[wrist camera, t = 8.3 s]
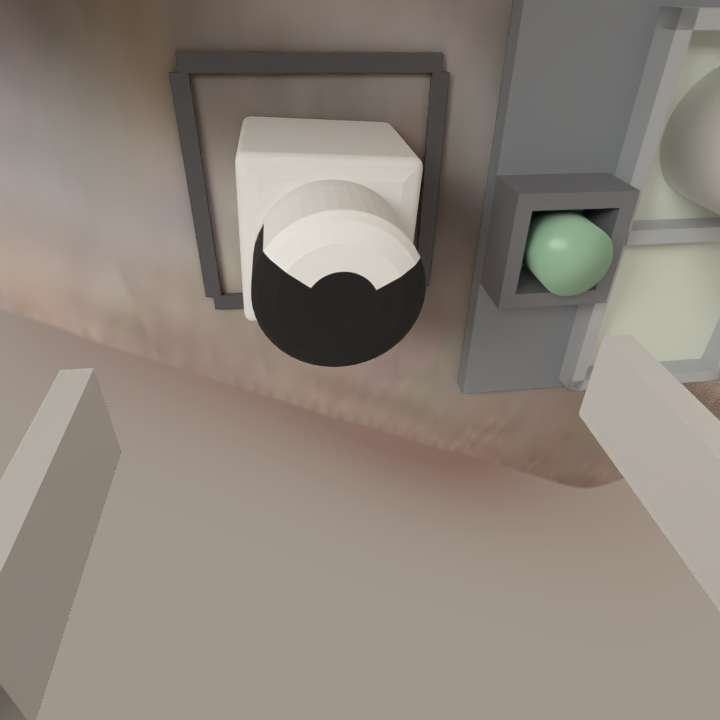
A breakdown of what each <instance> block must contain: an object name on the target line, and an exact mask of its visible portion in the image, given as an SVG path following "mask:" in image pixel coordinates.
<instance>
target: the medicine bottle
mask: <svg viewBox="0 0 720 720" xmlns="http://www.w3.org/2000/svg"><path fill="white" fill-rule="evenodd" d="M235 171H236V188H237V204H238V220H239V236H240V253H241V269H242V285H243V302H244V314H245V316H246V318H247V319H248V320H249V321H258V323H259V326H260V327H261V329H262V330H263V332H264V333H265V335H266V336H267V337H268V338H269V339H270V341H271V342H272V343H273V344H274V345H276V346H277V347H278V348H279V349H280V350H282V351H283V352H285V353H286V354H288V355H290V356H291V357H294V358H296V359H298V360H300V361H303V362H306V363H309V364H313V365H319V366H328V367H340V366H349V365H355V364H359V363H362V362H366V361H369V360H371V359H373V358H376V357H378V356H380V355H381V354H383V353H385V352H387V351H388V350H389V349H391V348H392V347H394V346H395V345H396V344H397V343H398V342H399V341H401V340H402V339H403V338H404V337H405V335H406V334H407V333H408V332H409V331H410V329H411V328H412V326H413V325H414V323H415V322H416V320H417V318H418V316H419V314H420V311H421V309H422V305H423V302H424V297H425V290H426V278H425V272H424V267H423V264H422V261H421V258H420V256H419V254H418V252H417V250H416V248H415V246H414V244H413V241H414V233H415V226H416V218H417V210H418V202H419V194H420V187H421V179H422V171H423V164H422V161H421V160H420V159H419V158H418V157H417V155H416V154H415V153H414V152H413V151H412V149H411V148H410V147H409V146H408V145H407V144H406V142H405V141H404V140H403V139H402V138H401V136H400V135H399V134H398V133H397V132H396V131H395V129H394V128H393V127H392V126H391V125H390V124H389V123H386V122H368V121H346V120H323V119H300V118H277V117H255V116H249V117H246V118H245V119H244V120H243V123H242V128H241V133H240V138H239V143H238V148H237V153H236V158H235Z"/></svg>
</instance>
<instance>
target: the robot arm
mask: <svg viewBox="0 0 720 720" xmlns="http://www.w3.org/2000/svg"><path fill="white" fill-rule="evenodd" d="M579 416H580V417H581V418H582V420H583V421H584V423H585V424H586V425H587V427H588V428H589V430H590V431H591V432H592V434H593V435H594V437H595V438H596V439H597V441H598V442H599V444H600V445H601V446H602V448H603V449H604V451H605V452H606V453H607V455H608V456H609V458H610V459H611V460H612V462H613V463H614V465H615V466H616V467H617V469H618V470H619V472H620V473H621V474H622V476H623V477H624V479H625V480H626V481H627V483H628V484H629V485H630V487H631V488H632V490H633V491H634V492H635V494H636V495H637V497H638V498H639V499H640V501H641V502H642V504H643V505H644V506H645V508H646V509H647V510H648V512H649V513H650V515H651V516H652V518H653V519H654V520H655V522H656V523H657V525H658V526H659V527H660V529H661V530H662V532H663V533H664V534H665V536H666V537H667V539H668V540H669V541H670V543H671V544H672V545H673V547H674V548H675V549H676V551H677V553H678V554H679V555H680V556H681V558H682V560H683V561H684V562H685V564H686V565H687V567H688V568H689V569H690V571H691V572H692V574H693V575H694V576H695V578H696V579H697V580H698V582H699V583H700V585H701V586H702V588H703V589H704V590H705V592H706V593H707V594H708V596H709V597H710V599H711V600H712V601H713V603H714V604H715V606H716V607H717V608H718V610H719V611H720V421H719V420H718V419H717V418H716V417H715V416H714V415H713V414H712V413H711V412H710V411H709V410H708V409H707V408H706V407H705V406H704V405H703V404H702V403H701V402H700V401H699V400H698V399H697V398H696V397H695V396H694V395H693V394H691V393H690V392H689V391H688V390H687V389H686V388H685V387H684V386H683V385H682V384H681V383H680V382H679V381H678V380H677V379H676V378H675V377H674V376H673V375H672V374H671V373H670V372H669V371H668V370H667V369H666V368H665V367H664V366H663V365H662V364H661V363H660V362H659V361H658V360H657V359H656V358H655V357H653V356H652V355H651V354H650V353H649V352H648V351H647V350H646V349H645V348H644V347H643V346H642V345H641V344H640V343H639V342H638V341H637V340H636V339H635V338H634V337H633V336H632V335H631V334H622V335H606V336H603V339H602V343H601V346H600V349H599V352H598V355H597V358H596V361H595V365H594V368H593V371H592V374H591V377H590V380H589V383H588V387H587V390H586V393H585V396H584V399H583V402H582V405H581V409H580V412H579ZM120 454H121V450H120V447H119V443H118V440H117V437H116V435H115V431H114V428H113V425H112V422H111V419H110V416H109V413H108V410H107V406H106V403H105V400H104V397H103V394H102V391H101V388H100V385H99V382H98V379H97V376H96V373H95V370H94V368H87V369H71V370H60V372H59V373H58V375H57V377H56V379H55V381H54V383H53V384H52V386H51V388H50V390H49V392H48V394H47V396H46V397H45V399H44V401H43V403H42V405H41V407H40V408H39V410H38V412H37V414H36V416H35V418H34V419H33V421H32V423H31V425H30V427H29V429H28V431H27V433H26V434H25V436H24V438H23V440H22V442H21V443H20V445H19V447H18V449H17V451H16V453H15V455H14V456H13V458H12V460H11V462H10V464H9V466H8V468H7V470H6V471H5V473H4V475H3V477H2V479H1V481H0V720H36V718H37V715H38V712H39V709H40V705H41V702H42V699H43V696H44V693H45V690H46V687H47V684H48V680H49V677H50V674H51V671H52V668H53V665H54V662H55V658H56V655H57V652H58V649H59V646H60V643H61V639H62V636H63V633H64V630H65V627H66V623H67V621H68V617H69V614H70V611H71V608H72V605H73V602H74V598H75V595H76V592H77V589H78V586H79V583H80V580H81V576H82V573H83V570H84V567H85V564H86V560H87V558H88V555H89V551H90V548H91V545H92V542H93V539H94V536H95V533H96V529H97V526H98V523H99V520H100V517H101V514H102V510H103V507H104V504H105V501H106V498H107V495H108V492H109V488H110V485H111V482H112V479H113V476H114V473H115V470H116V466H117V463H118V460H119V457H120Z"/></svg>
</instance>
